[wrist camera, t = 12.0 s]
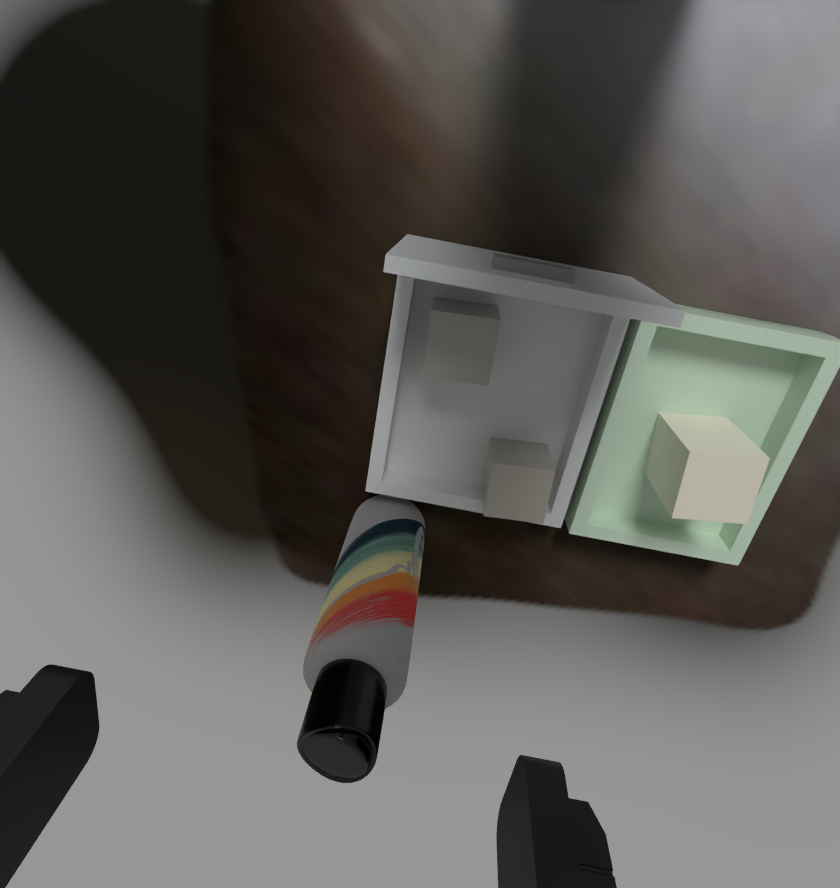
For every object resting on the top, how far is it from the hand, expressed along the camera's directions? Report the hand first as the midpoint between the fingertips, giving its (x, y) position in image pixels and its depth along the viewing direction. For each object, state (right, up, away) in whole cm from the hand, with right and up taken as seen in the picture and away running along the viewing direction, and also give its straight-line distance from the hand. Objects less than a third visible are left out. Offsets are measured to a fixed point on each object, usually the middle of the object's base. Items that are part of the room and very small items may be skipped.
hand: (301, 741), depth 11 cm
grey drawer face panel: (+8, +17, +25) cm, 31 cm away
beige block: (+20, +5, +28) cm, 35 cm away
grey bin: (+7, +9, +28) cm, 31 cm away
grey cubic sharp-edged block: (+5, +13, +26) cm, 30 cm away
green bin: (+20, +7, +28) cm, 35 cm away
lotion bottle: (0, -1, +34) cm, 34 cm away
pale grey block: (+9, +4, +30) cm, 32 cm away
